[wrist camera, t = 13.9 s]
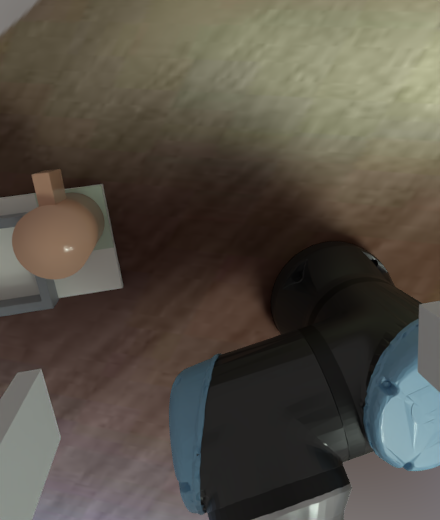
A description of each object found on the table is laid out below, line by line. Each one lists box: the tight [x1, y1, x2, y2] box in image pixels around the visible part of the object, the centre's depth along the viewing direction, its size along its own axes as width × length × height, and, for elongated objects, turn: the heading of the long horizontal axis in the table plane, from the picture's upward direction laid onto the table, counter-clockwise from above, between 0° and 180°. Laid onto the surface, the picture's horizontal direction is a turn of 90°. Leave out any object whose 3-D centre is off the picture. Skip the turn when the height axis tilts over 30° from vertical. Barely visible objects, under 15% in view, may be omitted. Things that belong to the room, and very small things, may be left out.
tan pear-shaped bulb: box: [12, 169, 105, 279], centre depth 40 cm, size 9×6×10 cm
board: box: [0, 184, 123, 300], centre depth 46 cm, size 12×18×1 cm, turn 97°
